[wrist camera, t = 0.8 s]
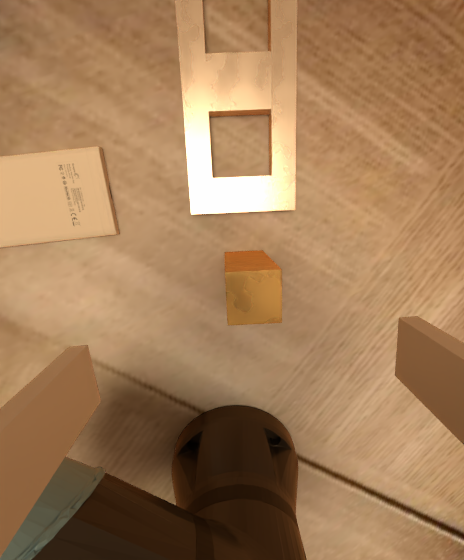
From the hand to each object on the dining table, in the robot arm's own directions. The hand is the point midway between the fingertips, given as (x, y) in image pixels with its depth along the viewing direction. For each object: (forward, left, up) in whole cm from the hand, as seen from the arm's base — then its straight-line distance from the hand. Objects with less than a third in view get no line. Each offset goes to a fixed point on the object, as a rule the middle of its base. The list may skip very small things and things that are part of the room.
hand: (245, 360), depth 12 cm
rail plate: (+17, -1, -19) cm, 25 cm away
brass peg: (0, -1, -19) cm, 19 cm away
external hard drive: (+8, +18, -19) cm, 27 cm away
